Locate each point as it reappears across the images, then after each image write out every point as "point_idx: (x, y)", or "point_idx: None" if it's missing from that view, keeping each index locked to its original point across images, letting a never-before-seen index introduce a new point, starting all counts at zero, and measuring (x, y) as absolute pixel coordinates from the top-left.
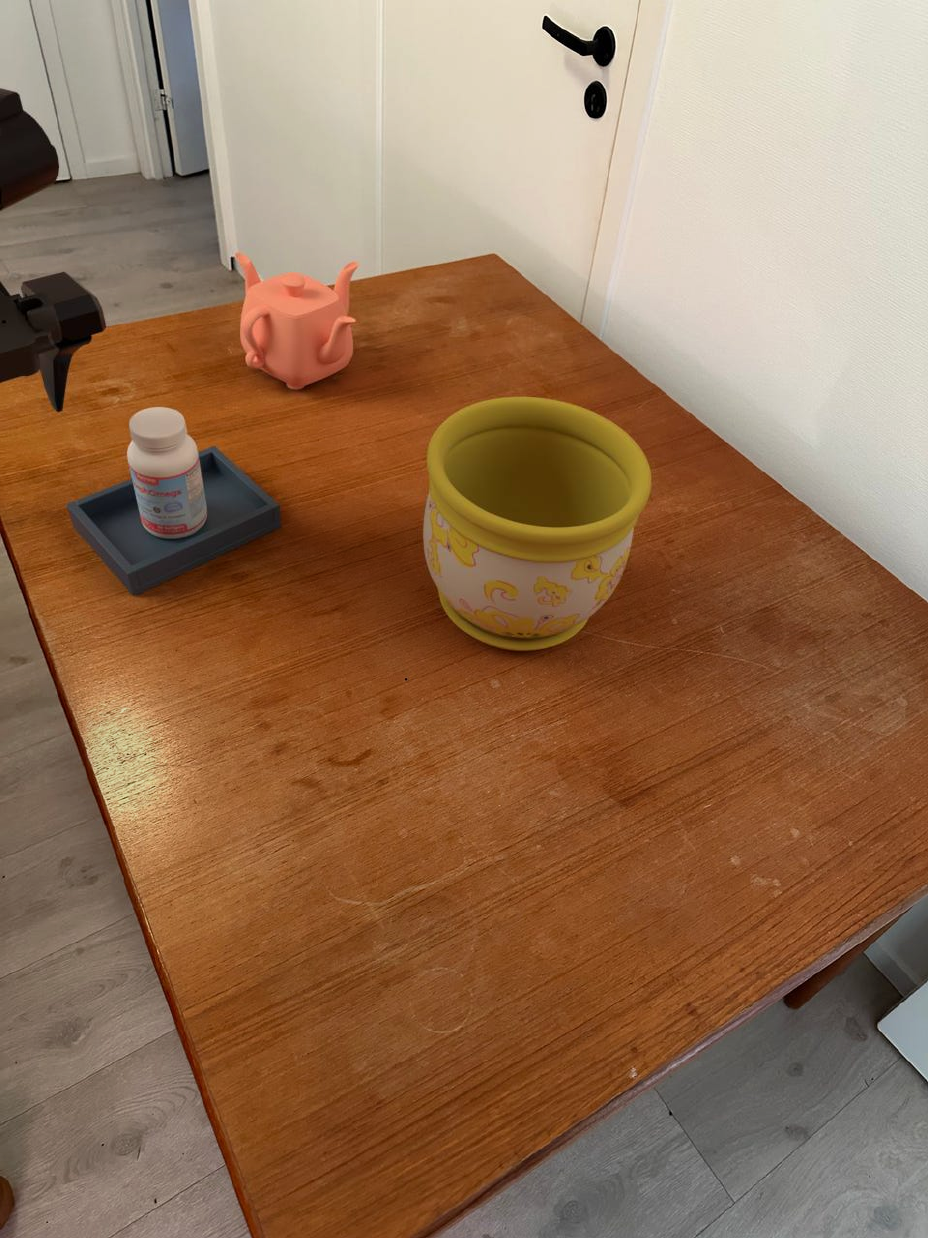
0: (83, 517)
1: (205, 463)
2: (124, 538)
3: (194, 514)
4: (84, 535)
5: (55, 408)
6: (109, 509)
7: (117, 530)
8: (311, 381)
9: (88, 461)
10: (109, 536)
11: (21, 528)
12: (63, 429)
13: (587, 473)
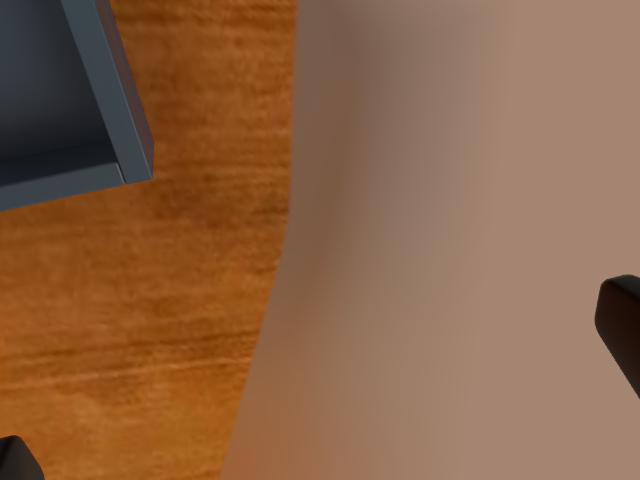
0: (110, 97)
1: None
2: (2, 5)
3: None
4: (128, 73)
5: (22, 460)
6: (35, 154)
7: (22, 54)
8: None
9: (76, 359)
10: (52, 37)
11: (275, 185)
12: (117, 458)
13: None
